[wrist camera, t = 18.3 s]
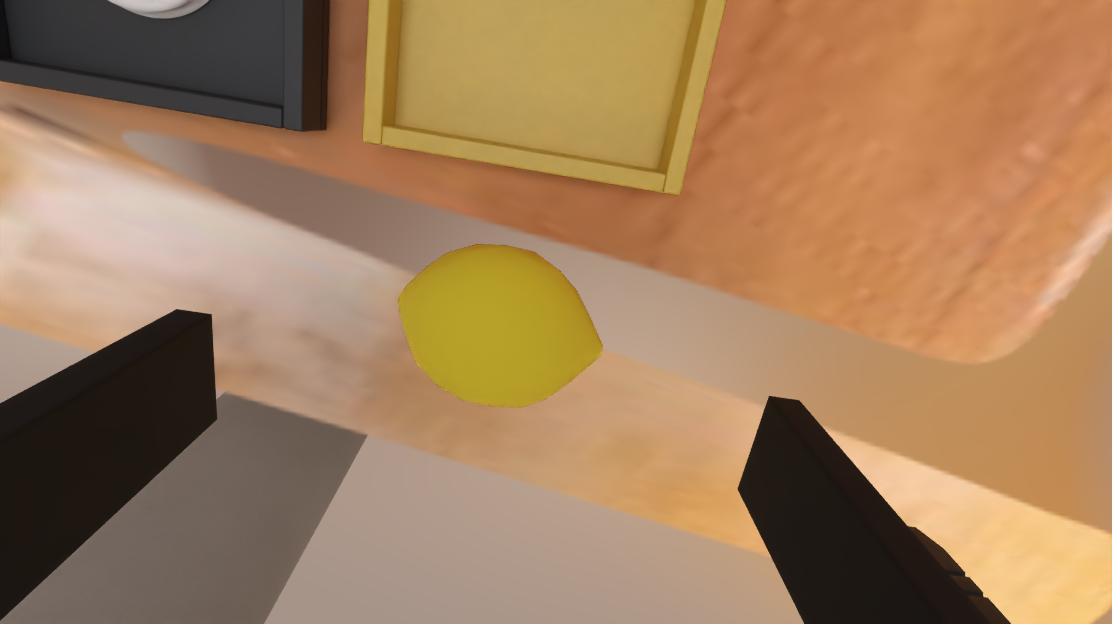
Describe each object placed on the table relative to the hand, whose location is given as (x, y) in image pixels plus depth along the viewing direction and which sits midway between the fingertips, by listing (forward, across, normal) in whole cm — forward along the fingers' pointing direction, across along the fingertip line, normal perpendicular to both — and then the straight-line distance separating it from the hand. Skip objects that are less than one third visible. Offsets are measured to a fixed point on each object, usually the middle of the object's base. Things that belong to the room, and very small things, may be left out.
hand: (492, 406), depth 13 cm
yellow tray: (+8, 0, +10) cm, 13 cm away
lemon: (+8, 0, 0) cm, 9 cm away
